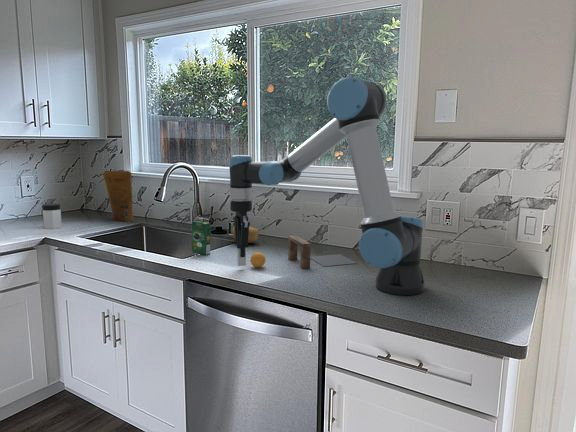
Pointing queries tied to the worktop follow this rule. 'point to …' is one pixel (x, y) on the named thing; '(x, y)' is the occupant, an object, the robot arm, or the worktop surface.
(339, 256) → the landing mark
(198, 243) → the coffee box
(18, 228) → the worktop surface
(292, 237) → the bridge
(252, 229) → the potato
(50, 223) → the jar
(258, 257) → the ball
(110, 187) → the pancake mix bag
